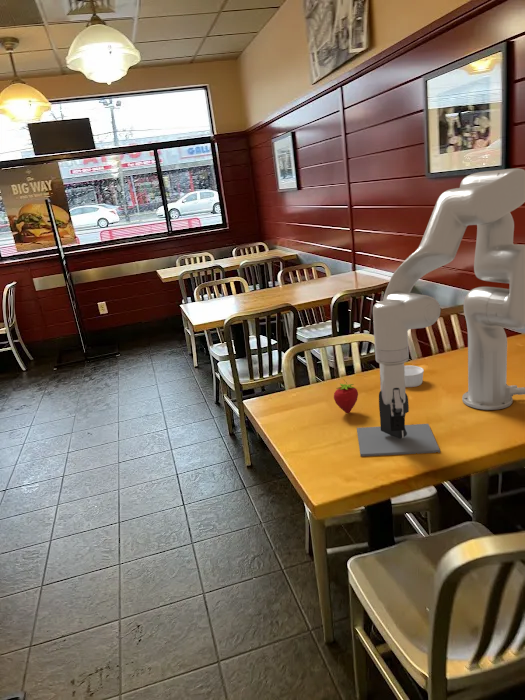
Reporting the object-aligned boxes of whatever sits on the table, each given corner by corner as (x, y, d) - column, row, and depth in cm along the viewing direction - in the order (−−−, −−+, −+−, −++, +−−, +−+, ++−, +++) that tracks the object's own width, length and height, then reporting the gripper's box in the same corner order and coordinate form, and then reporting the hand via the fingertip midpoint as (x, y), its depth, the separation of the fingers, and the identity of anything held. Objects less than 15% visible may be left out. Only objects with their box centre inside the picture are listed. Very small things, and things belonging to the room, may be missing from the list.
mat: (428, 425, 132) (428, 423, 132) (440, 452, 119) (439, 450, 119) (356, 430, 135) (356, 427, 135) (360, 456, 122) (360, 454, 122)
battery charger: (411, 435, 125) (410, 391, 122) (400, 440, 123) (399, 395, 120) (390, 426, 131) (388, 384, 128) (379, 431, 129) (377, 388, 126)
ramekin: (427, 379, 163) (427, 366, 162) (419, 389, 156) (418, 376, 155) (399, 376, 168) (399, 364, 167) (390, 386, 161) (390, 373, 160)
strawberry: (330, 415, 146) (327, 381, 143) (348, 406, 150) (346, 373, 147) (345, 420, 141) (343, 386, 138) (364, 411, 146) (362, 377, 143)
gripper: (372, 344, 130) (376, 410, 135) (379, 367, 113) (383, 441, 118) (402, 341, 128) (406, 408, 134) (414, 364, 112) (417, 439, 117)
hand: (395, 423), depth 126 cm, fingers closed on battery charger, 6 cm apart
